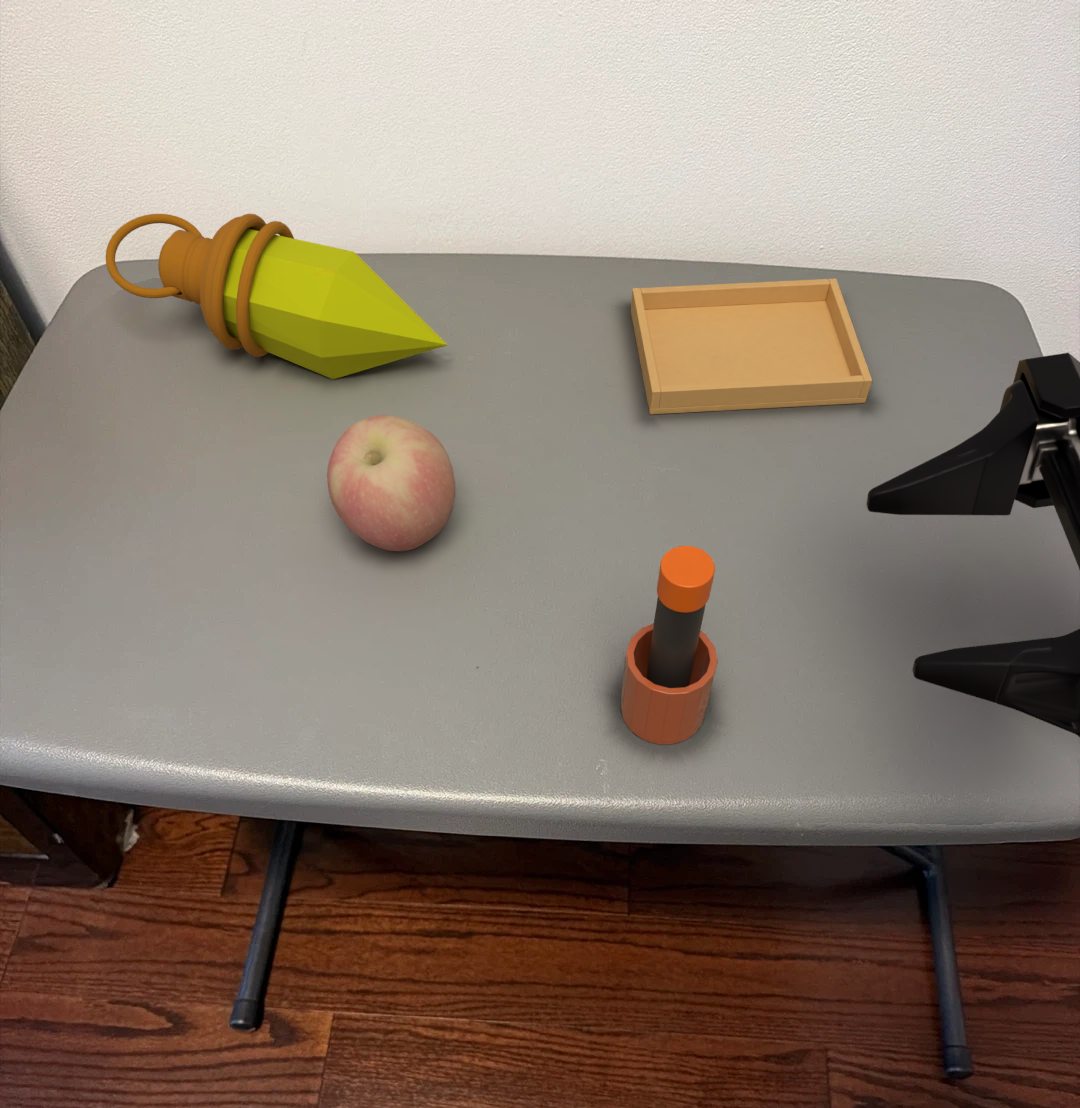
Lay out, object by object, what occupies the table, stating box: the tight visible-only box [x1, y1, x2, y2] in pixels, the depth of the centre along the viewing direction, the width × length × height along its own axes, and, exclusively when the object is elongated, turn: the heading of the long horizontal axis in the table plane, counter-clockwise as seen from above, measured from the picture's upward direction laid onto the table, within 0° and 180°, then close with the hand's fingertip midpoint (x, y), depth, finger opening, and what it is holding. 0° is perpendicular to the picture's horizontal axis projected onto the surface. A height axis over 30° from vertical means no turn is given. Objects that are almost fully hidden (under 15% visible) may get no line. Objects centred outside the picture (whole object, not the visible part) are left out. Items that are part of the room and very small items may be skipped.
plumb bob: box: [105, 213, 449, 380], centre depth 75 cm, size 9×9×25 cm
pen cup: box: [620, 622, 718, 745], centre depth 60 cm, size 5×5×5 cm
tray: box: [630, 278, 873, 415], centre depth 77 cm, size 15×11×2 cm
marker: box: [646, 545, 716, 688], centre depth 56 cm, size 3×3×12 cm
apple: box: [326, 414, 457, 552], centre depth 66 cm, size 8×8×8 cm
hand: (889, 580), depth 46 cm, fingers open, 9 cm apart
